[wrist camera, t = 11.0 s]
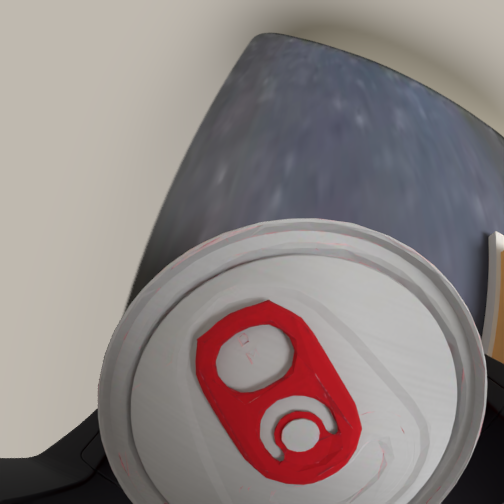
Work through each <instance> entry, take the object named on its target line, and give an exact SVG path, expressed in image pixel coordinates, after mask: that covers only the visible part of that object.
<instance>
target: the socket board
mask: <svg viewBox="0 0 504 504" xmlns="http://www.w3.org/2000/svg"><path fill="white" fill-rule="evenodd" d="M481 343H482V347H483V351H484V353H485V354H486V355H488V356H490V357H492V358H494V359H496V360H498V361H499V362H501V363H503V364H504V235H502V234H500V233H498V232H496V231H495V232H494V233H493V234H491V235H490V236H489V273H488V291H487V302H486V312H485V320H484V327H483V333H482V339H481Z"/></svg>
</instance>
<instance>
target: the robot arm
mask: <svg viewBox="0 0 504 504" xmlns="http://www.w3.org/2000/svg"><path fill="white" fill-rule="evenodd" d="M484 356H485V361H486V370H487V399H486V410H485V415H484V420H483V424H482V428H481V432H480V436H479V438H478V441H477V443H476V446H475V448H474V451H473V453H472V456H471V458H470V460H469V462H468V464H467V466H466V468H465V469H464V471H463V473H462V475H461V476H460V478H459V480H458V481H457V483H456V484H455V486H454V487H453V489H452V490H451V491H450V492H449V494H448V495H447V496H446V497H445V499H444V500H443V501H442V502H441V503H440V504H504V364H503V363H501V362H499V361H498V360H496V359H494V358H492V357H490V356H488V355H486V354H485V353H484ZM0 504H133V503H132V502H131V500H130V499H129V498H128V496H127V495H126V494H125V492H124V491H123V489H122V487H121V485H120V484H119V482H118V480H117V478H116V476H115V475H114V473H113V471H112V469H111V466H110V463H109V461H108V458H107V455H106V452H105V449H104V446H103V443H102V440H101V434H100V428H99V420H98V409H96V410H95V411H94V412H93V413H92V414H91V415H90V416H89V417H88V418H87V419H85V421H83V422H82V423H81V424H80V425H79V426H77V427H76V428H75V429H73V430H72V431H71V432H70V433H68V434H67V435H66V436H64V437H63V438H62V439H60V440H59V441H58V442H57V443H55V444H54V445H52V446H51V447H50V448H48V449H47V450H46V451H44V452H43V453H41V454H39V455H37V456H34V457H29V458H0Z"/></svg>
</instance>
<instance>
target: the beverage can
mask: <svg viewBox="0 0 504 504" xmlns="http://www.w3.org/2000/svg"><path fill="white" fill-rule="evenodd" d="M486 399H487V370H486V361H485V356H484V351H483V347H482V343H481V339H480V335H479V333H478V330H477V328H476V325H475V323H474V320H473V318H472V316H471V313H470V311H469V309H468V307H467V306H466V304H465V303H464V301H463V300H462V298H461V297H460V295H459V294H458V292H457V291H456V289H455V288H454V286H453V285H452V284H451V283H450V282H449V281H448V280H447V279H446V277H445V276H444V275H443V274H442V273H441V272H440V271H439V270H438V269H437V268H436V267H435V266H434V265H433V264H432V263H430V262H429V261H428V260H427V259H425V258H424V257H423V256H421V255H420V254H419V253H418V252H416V251H415V250H414V249H412V248H410V247H408V246H407V245H405V244H403V243H401V242H399V241H397V240H396V239H394V238H392V237H390V236H388V235H385V234H382V233H379V232H376V231H374V230H371V229H368V228H365V227H362V226H359V225H356V224H353V223H347V222H340V221H333V220H325V219H317V218H313V219H284V220H275V221H267V222H260V223H257V224H253V225H249V226H246V227H242V228H239V229H235V230H232V231H229V232H226V233H223V234H221V235H219V236H216V237H214V238H212V239H210V240H207V241H205V242H203V243H201V244H199V245H198V246H196V247H194V248H192V249H190V250H188V251H187V252H185V253H184V254H183V255H181V256H180V257H178V258H177V259H176V260H174V261H173V262H171V263H170V264H169V265H167V266H166V267H165V268H164V269H163V270H162V271H161V272H160V273H159V274H158V275H156V276H155V277H154V278H153V279H152V280H151V281H150V282H149V283H148V284H147V285H146V286H145V287H144V288H143V289H142V290H141V292H140V293H139V294H138V295H137V297H136V298H135V299H134V300H133V302H132V303H131V304H130V305H129V307H128V309H127V310H126V312H125V313H124V315H123V317H122V318H121V320H120V322H119V324H118V325H117V327H116V329H115V330H114V333H113V335H112V338H111V340H110V343H109V345H108V348H107V350H106V353H105V356H104V361H103V366H102V370H101V374H100V379H99V384H98V420H99V428H100V434H101V440H102V443H103V446H104V449H105V452H106V455H107V458H108V461H109V463H110V466H111V469H112V471H113V473H114V475H115V476H116V478H117V480H118V482H119V484H120V485H121V487H122V489H123V491H124V492H125V494H126V495H127V496H128V498H129V499H130V500H131V502H132V503H133V504H440V503H441V502H442V501H443V500H444V499H445V497H446V496H447V495H448V494H449V492H450V491H451V490H452V489H453V487H454V486H455V484H456V483H457V481H458V480H459V478H460V476H461V475H462V473H463V471H464V469H465V468H466V466H467V464H468V462H469V460H470V458H471V456H472V453H473V451H474V448H475V446H476V443H477V441H478V438H479V436H480V432H481V428H482V424H483V420H484V415H485V410H486Z"/></svg>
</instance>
